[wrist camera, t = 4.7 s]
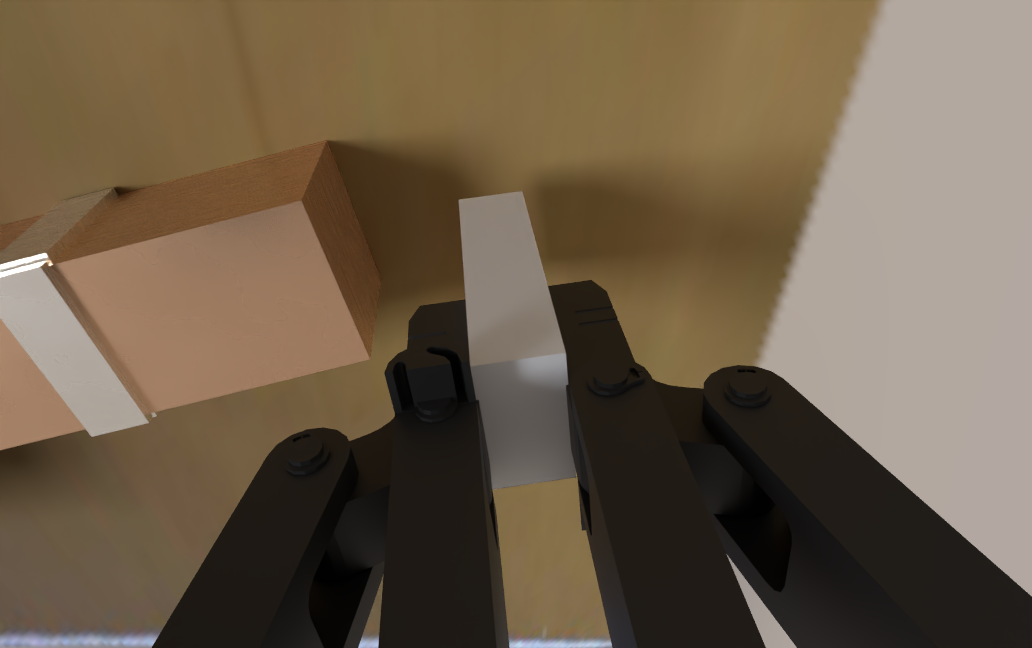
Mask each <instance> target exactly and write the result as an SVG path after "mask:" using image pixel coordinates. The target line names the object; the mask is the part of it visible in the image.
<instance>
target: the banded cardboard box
mask: <svg viewBox="0 0 1032 648" xmlns="http://www.w3.org/2000/svg"><path fill="white" fill-rule="evenodd" d="M380 286H381V277H380V275H379V272H378V270H377V267H376V264H375V262H374V259H373V257H372V254H371V252H370V249H369V247H368V244H367V242H366V239H365V236H364V234H363V231H362V229H361V226H360V224H359V221H358V219H357V216H356V213H355V211H354V208H353V206H352V203H351V201H350V198H349V196H348V193H347V190H346V188H345V185H344V183H343V180H342V178H341V175H340V173H339V170H338V167H337V165H336V162H335V160H334V157H333V155H332V152H331V150H330V147H329V144H328V142H327V140H326V141H322V142H318V143H315V144H311V145H307V146H303V147H299V148H295V149H292V150H288V151H284V152H280V153H276V154H273V155H269V156H265V157H261V158H257V159H253V160H250V161H246V162H242V163H238V164H234V165H231V166H227V167H223V168H219V169H215V170H211V171H208V172H204V173H200V174H196V175H192V176H188V177H185V178H181V179H177V180H173V181H169V182H166V183H162V184H158V185H154V186H150V187H146V188H143V189H139V190H135V191H131V192H127V193H123V194H120V195H118V194H117V192H116V191H115V189H114V188H110V189H107V190H103V191H99V192H95V193H91V194H87V195H84V196H80V197H76V198H72V199H68V200H65V201H61V202H59V203H57V204H56V205H55V206H54V207H53V208H52V209H50V210H49V211H48V212H47V213H46V214H43V215H39V216H36V217H32V218H28V219H24V220H20V221H16V222H13V223H9V224H5V225H1V226H0V450H3V449H7V448H11V447H15V446H20V445H24V444H28V443H32V442H36V441H40V440H44V439H48V438H52V437H56V436H60V435H64V434H68V433H72V432H77V431H81V430H85V429H86V430H87V431H88V433H89V434H90V435H91V437H93V436H97V435H101V434H105V433H109V432H114V431H118V430H122V429H126V428H130V427H134V426H138V425H142V424H146V423H149V422H150V420H151V418H152V417H156V416H158V414H159V412H160V411H162V410H166V409H170V408H174V407H178V406H182V405H186V404H190V403H194V402H199V401H203V400H207V399H211V398H215V397H219V396H223V395H227V394H231V393H235V392H239V391H243V390H247V389H251V388H255V387H260V386H264V385H268V384H272V383H276V382H280V381H284V380H288V379H292V378H296V377H300V376H304V375H308V374H312V373H316V372H321V371H325V370H329V369H333V368H337V367H341V366H345V365H349V364H353V363H357V362H361V361H365V360H369V359H370V356H371V349H372V342H373V335H374V328H375V321H376V314H377V307H378V300H379V293H380Z"/></svg>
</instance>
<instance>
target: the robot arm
mask: <svg viewBox="0 0 1032 648" xmlns="http://www.w3.org/2000/svg"><path fill="white" fill-rule="evenodd" d="M459 212H460V227H461V241H462V255H463V270H464V284H465V299H466V300H459V301H451V302H444V303H437V304H430V305H423V306H420V307H419V308H418V309H417V311H416V312H415V313H414V315H413V316H412V318H411V319H410V320H409V329H408V346H407V349H406V350H404V351H402V352H400V353H398V354H397V355H396V356H395V357H394V358H393V359H392V360H391V361H390V362H389V363H388V365H387V368H386V370H385V377H386V381H387V385H388V389H389V392H390V396H391V400H392V404H393V408H394V411H395V417H394V418H393V419H392V420H391V421H390V422H389V423H388V424H386V425H385V426H383V427H382V428H380V429H378V430H376V431H374V432H372V433H370V434H368V435H365V436H362V437H360V438H357V439H354V440H352V441H348V439H347V436H345V435H344V434H342V433H341V432H339V431H338V430H334V429H328V428H316V429H307V430H304V431H302V432H299V433H296V434H294V435H291V436H289V437H288V438H286V439H285V440H283V441H282V442H280V443H279V444H277V445H276V446H275V448H274V449H273V450H272V451H271V452H270V453H269V455H268V456H267V457H266V459H265V461H264V462H263V464H262V466H261V467H260V469H259V470H258V472H257V474H256V475H255V477H254V479H253V480H252V482H251V484H250V485H249V487H248V489H247V490H246V492H245V494H244V495H243V497H242V499H241V500H240V502H239V504H238V505H237V507H236V509H235V510H234V512H233V514H232V515H231V517H230V519H229V520H228V522H227V524H226V525H225V527H224V529H223V530H222V532H221V534H220V535H219V537H218V538H217V540H216V542H215V543H214V545H213V547H212V548H211V550H210V552H209V553H208V555H207V557H206V558H205V560H204V562H203V563H202V565H201V567H200V568H199V570H198V572H197V573H196V575H195V577H194V578H193V580H192V582H191V583H190V585H189V587H188V588H187V590H186V592H185V593H184V595H183V597H182V598H181V600H180V602H179V603H178V605H177V606H176V608H175V610H174V611H173V613H172V615H171V616H170V618H169V620H168V621H167V623H166V625H165V626H164V628H163V630H162V631H161V633H160V635H159V636H158V638H157V640H156V641H155V643H154V645H153V646H152V648H358V646H359V643H360V640H361V637H362V635H363V632H364V629H365V626H366V623H367V620H368V617H369V614H370V611H371V608H372V606H373V603H374V600H375V597H376V594H377V591H378V588H379V585H380V582H381V580H382V577H383V574H384V577H383V591H382V605H381V619H380V633H379V647H378V648H509V639H508V629H507V619H506V608H505V598H504V588H503V578H502V567H501V557H500V547H499V537H498V526H497V516H496V509H495V504H494V498H493V492H492V489H499V488H506V487H513V486H519V485H526V484H533V483H540V482H547V481H553V480H560V479H567V478H574V477H576V473H577V477H578V487H579V499H580V512H581V525H582V530H586V531H587V536H588V540H589V545H590V549H591V553H592V558H593V562H594V567H595V571H596V576H597V580H598V585H599V589H600V593H601V598H602V602H603V607H604V611H605V616H606V620H607V625H608V629H609V634H610V638H611V642H612V647H613V648H766V647H765V645H764V642H763V640H762V638H761V635H760V633H759V630H758V628H757V626H756V624H755V621H754V619H753V616H752V614H751V611H750V609H749V607H748V605H747V602H746V600H745V597H744V595H743V593H742V590H741V588H740V585H739V583H738V581H737V578H736V576H735V574H734V571H733V569H732V566H731V564H730V562H729V559H728V557H727V555H728V556H729V558H730V559H731V560H732V562H733V563H734V564H735V565H736V567H737V568H738V569H739V571H740V572H741V573H742V575H743V576H744V577H745V579H746V580H747V581H748V583H749V584H750V585H751V587H752V588H753V590H754V591H755V592H756V593H757V595H758V596H759V598H760V599H761V600H762V601H763V603H764V604H765V606H766V607H767V608H768V610H769V611H770V612H771V613H772V615H773V616H774V618H775V619H776V620H777V621H778V623H779V624H780V626H781V627H782V628H783V630H784V631H785V632H786V634H787V635H788V636H789V637H790V639H791V640H792V641H793V643H794V644H795V645H796V647H797V648H1032V596H1030V595H1029V594H1028V593H1027V592H1026V591H1025V590H1023V589H1022V588H1021V587H1020V586H1019V585H1018V584H1017V583H1016V582H1014V581H1013V580H1012V579H1011V578H1010V577H1009V576H1008V575H1006V574H1005V573H1004V572H1003V571H1002V570H1001V569H1000V568H998V567H997V566H996V565H995V564H994V563H993V562H992V561H991V560H989V559H988V558H987V557H986V556H985V555H984V554H983V553H981V552H980V551H979V550H978V549H977V548H976V547H975V546H973V545H972V544H971V543H970V542H969V541H968V540H966V539H965V538H964V537H963V536H962V535H961V534H960V533H959V532H957V531H956V530H955V529H954V528H953V527H952V526H951V525H949V524H948V523H947V522H946V521H945V520H944V519H943V518H942V517H940V516H939V515H938V514H937V513H936V512H935V511H934V510H932V509H931V508H930V507H929V506H928V505H927V504H926V503H924V502H923V501H922V500H921V499H920V498H919V497H918V496H916V495H915V494H914V493H913V492H912V491H911V490H909V489H908V488H907V487H906V486H905V485H904V484H903V483H902V482H900V481H899V480H898V479H897V478H896V477H895V476H894V475H893V474H891V473H890V472H889V471H888V470H887V469H886V468H884V467H883V466H882V465H881V464H880V463H879V462H878V461H877V460H875V459H874V458H873V457H872V456H871V455H870V454H869V453H867V452H866V451H865V450H864V449H863V448H862V447H861V446H859V445H858V444H857V443H856V442H855V441H854V440H852V439H851V438H850V437H849V436H848V435H847V434H846V433H845V432H844V431H842V430H841V429H840V428H839V427H838V426H837V425H836V424H834V423H833V422H832V421H831V420H830V419H829V418H828V417H826V416H825V415H824V414H823V413H822V412H821V411H820V410H818V409H817V408H816V407H815V406H814V405H813V404H812V403H810V402H809V401H808V400H807V399H806V398H805V397H804V396H802V395H801V394H800V393H799V392H798V391H797V390H796V389H795V388H793V387H792V386H791V385H790V384H789V383H788V382H786V381H785V380H784V379H783V378H781V377H780V376H778V375H776V374H775V373H773V372H771V371H769V370H765V369H762V368H759V367H755V366H742V365H737V366H731V367H725V368H722V369H720V370H718V371H716V372H714V373H712V374H711V375H710V376H709V377H708V378H707V380H706V381H705V382H704V389H700V388H687V387H677V386H671V385H666V384H663V383H660V382H657V381H655V380H653V379H652V377H651V375H650V374H649V373H648V371H647V370H646V369H645V367H643V366H641V365H639V364H638V363H636V362H635V360H634V358H633V355H632V353H631V350H630V348H629V346H628V343H627V341H626V338H625V336H624V333H623V331H622V328H621V326H620V323H619V321H618V320H617V316H616V313H615V311H614V309H613V306H612V304H611V301H610V299H609V296H608V294H607V291H605V290H604V289H603V288H601V287H600V286H599V285H597V284H596V283H595V282H593V281H592V280H588V281H581V282H574V283H567V284H560V285H553V286H548V285H547V281H546V278H545V274H544V270H543V266H542V263H541V259H540V255H539V252H538V248H537V244H536V240H535V237H534V233H533V229H532V226H531V222H530V218H529V215H528V211H527V207H526V203H525V200H524V196H523V192H522V191H519V192H511V193H504V194H497V195H489V196H482V197H475V198H468V199H460V200H459ZM575 468H576V472H575ZM726 554H727V555H726Z"/></svg>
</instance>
